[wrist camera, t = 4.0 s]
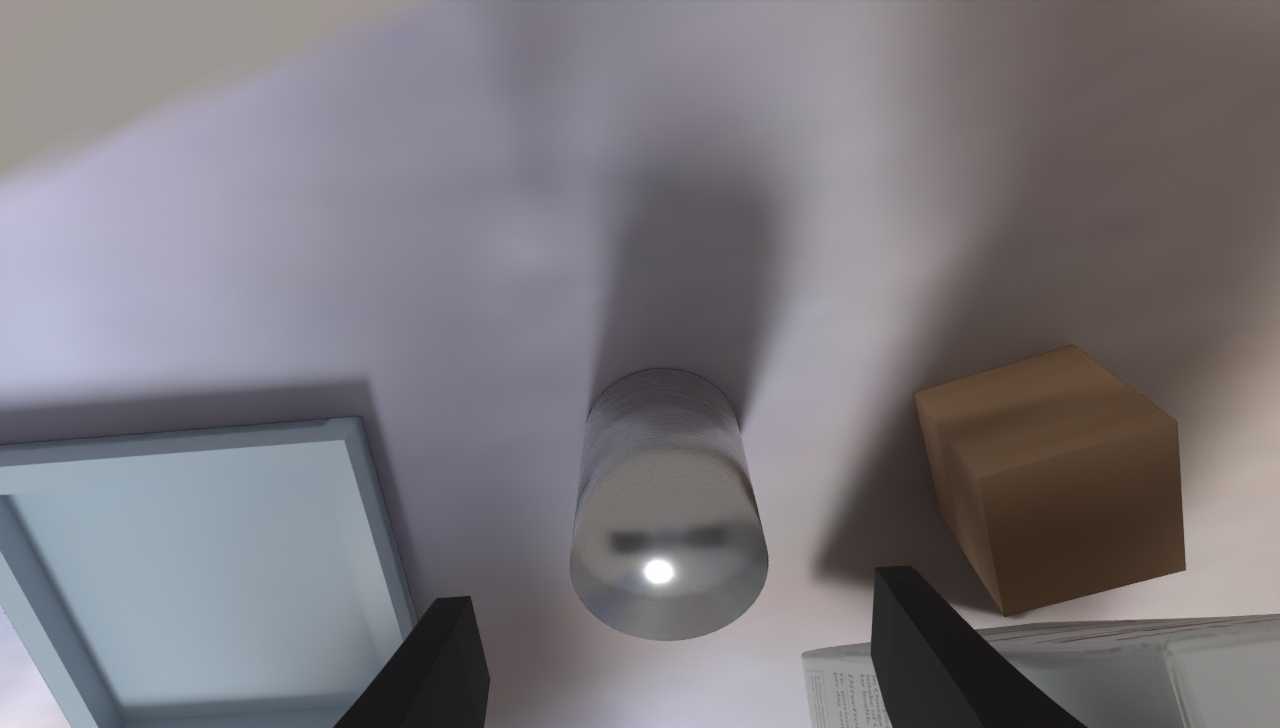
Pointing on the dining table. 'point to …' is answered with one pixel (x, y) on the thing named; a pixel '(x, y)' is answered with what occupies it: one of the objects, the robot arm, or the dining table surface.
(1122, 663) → the supplement box
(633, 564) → the silver cylindrical canister
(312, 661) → the tray
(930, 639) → the robot arm
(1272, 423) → the dining table surface
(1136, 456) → the walnut block
